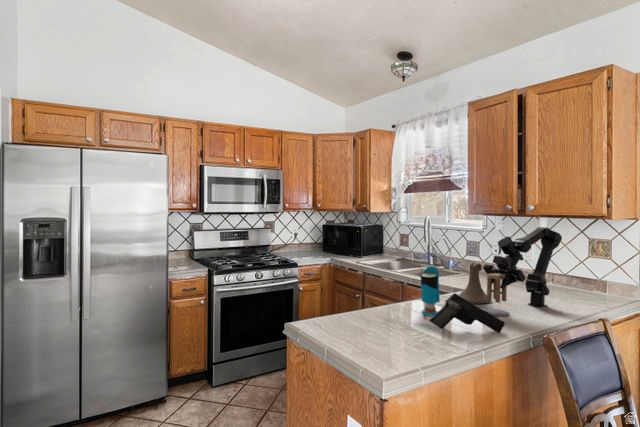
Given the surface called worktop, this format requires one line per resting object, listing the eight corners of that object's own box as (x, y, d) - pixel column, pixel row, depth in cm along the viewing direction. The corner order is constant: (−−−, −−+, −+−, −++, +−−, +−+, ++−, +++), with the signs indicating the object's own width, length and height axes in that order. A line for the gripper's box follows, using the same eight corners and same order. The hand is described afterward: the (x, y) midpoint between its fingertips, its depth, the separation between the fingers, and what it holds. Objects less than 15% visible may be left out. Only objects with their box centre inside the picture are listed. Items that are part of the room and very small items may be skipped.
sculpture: (497, 301, 194) (498, 263, 194) (478, 306, 184) (479, 266, 184) (468, 295, 208) (469, 259, 207) (449, 299, 198) (450, 261, 198)
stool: (495, 298, 176) (495, 273, 176) (506, 301, 171) (506, 275, 170) (486, 299, 173) (487, 274, 173) (498, 302, 168) (498, 276, 168)
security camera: (416, 267, 170) (427, 265, 178) (416, 313, 171) (426, 309, 178) (434, 269, 165) (444, 267, 172) (433, 317, 165) (443, 312, 172)
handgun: (485, 355, 146) (505, 323, 144) (429, 321, 150) (449, 290, 149) (483, 352, 149) (504, 321, 147) (429, 320, 153) (448, 289, 151)
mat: (494, 309, 179) (494, 307, 179) (515, 315, 169) (515, 313, 169) (478, 311, 175) (478, 310, 175) (498, 318, 165) (498, 316, 165)
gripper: (485, 247, 181) (469, 271, 177) (522, 252, 165) (505, 278, 160) (496, 262, 185) (480, 286, 180) (532, 268, 169) (516, 295, 164)
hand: (494, 286), depth 171 cm, fingers closed on stool, 6 cm apart
